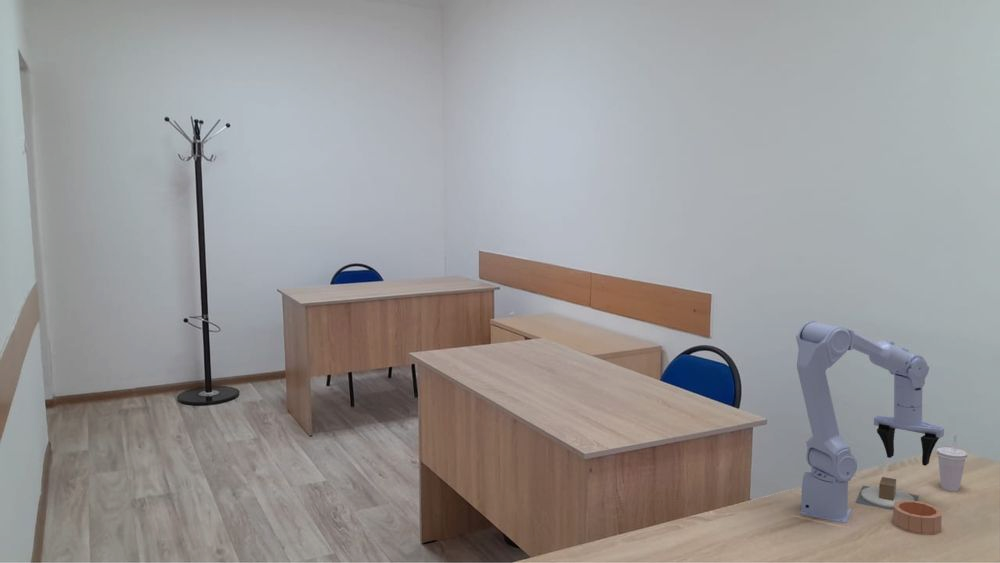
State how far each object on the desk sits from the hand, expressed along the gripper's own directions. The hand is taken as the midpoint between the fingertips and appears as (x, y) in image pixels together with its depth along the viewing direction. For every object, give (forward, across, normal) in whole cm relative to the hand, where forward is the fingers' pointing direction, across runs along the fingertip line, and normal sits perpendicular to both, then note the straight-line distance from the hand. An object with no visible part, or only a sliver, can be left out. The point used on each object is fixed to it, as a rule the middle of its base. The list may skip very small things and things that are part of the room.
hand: (907, 460), depth 170 cm
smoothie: (+11, -5, -14) cm, 18 cm away
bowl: (+10, -7, +13) cm, 18 cm away
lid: (+9, +3, +3) cm, 10 cm away
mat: (+10, +3, +3) cm, 11 cm away
